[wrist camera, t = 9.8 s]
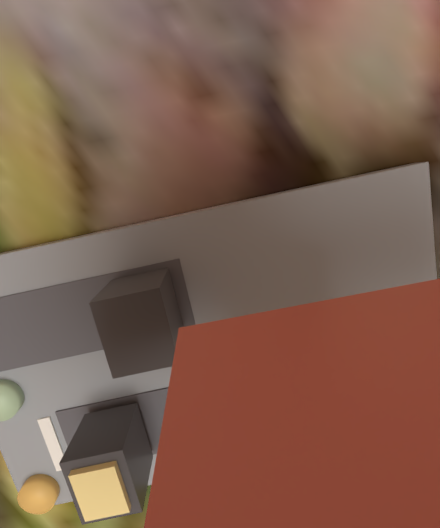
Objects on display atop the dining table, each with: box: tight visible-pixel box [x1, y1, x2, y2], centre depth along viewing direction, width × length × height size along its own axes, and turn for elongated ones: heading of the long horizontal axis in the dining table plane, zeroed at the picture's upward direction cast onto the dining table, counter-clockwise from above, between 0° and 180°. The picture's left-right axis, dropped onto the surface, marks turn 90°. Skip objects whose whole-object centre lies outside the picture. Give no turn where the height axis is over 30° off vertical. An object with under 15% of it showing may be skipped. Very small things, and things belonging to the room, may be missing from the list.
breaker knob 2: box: [59, 403, 153, 524], centre depth 15 cm, size 2×3×3 cm
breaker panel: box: [0, 162, 437, 514], centre depth 17 cm, size 22×13×2 cm, turn 102°
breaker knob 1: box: [89, 268, 183, 379], centre depth 14 cm, size 2×3×3 cm
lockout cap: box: [144, 279, 440, 528], centre depth 6 cm, size 6×6×5 cm
